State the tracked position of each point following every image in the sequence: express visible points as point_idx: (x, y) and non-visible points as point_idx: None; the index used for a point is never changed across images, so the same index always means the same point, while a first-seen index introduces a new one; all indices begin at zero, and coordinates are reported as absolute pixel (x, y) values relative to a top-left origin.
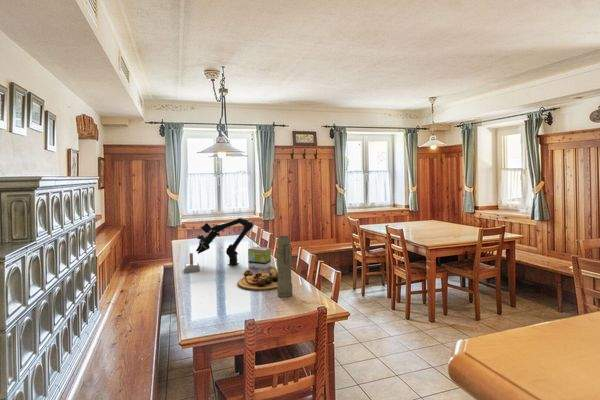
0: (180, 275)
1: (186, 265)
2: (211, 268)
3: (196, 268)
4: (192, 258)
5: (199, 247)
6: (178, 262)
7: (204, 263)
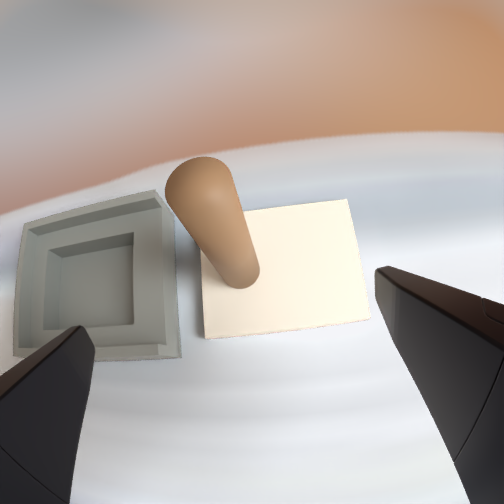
0: (10, 219)
1: (283, 208)
2: (115, 483)
3: (27, 329)
4: (204, 251)
5: (449, 362)
6: (459, 133)
7: (394, 411)
